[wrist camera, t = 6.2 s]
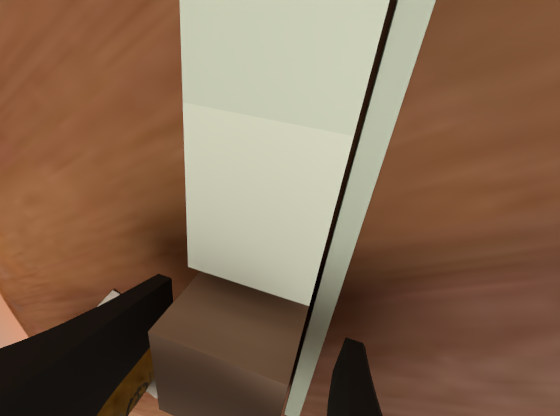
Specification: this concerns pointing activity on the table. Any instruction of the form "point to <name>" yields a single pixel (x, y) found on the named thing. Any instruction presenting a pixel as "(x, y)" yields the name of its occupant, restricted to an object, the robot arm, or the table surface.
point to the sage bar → (288, 140)
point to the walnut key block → (225, 350)
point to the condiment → (130, 384)
